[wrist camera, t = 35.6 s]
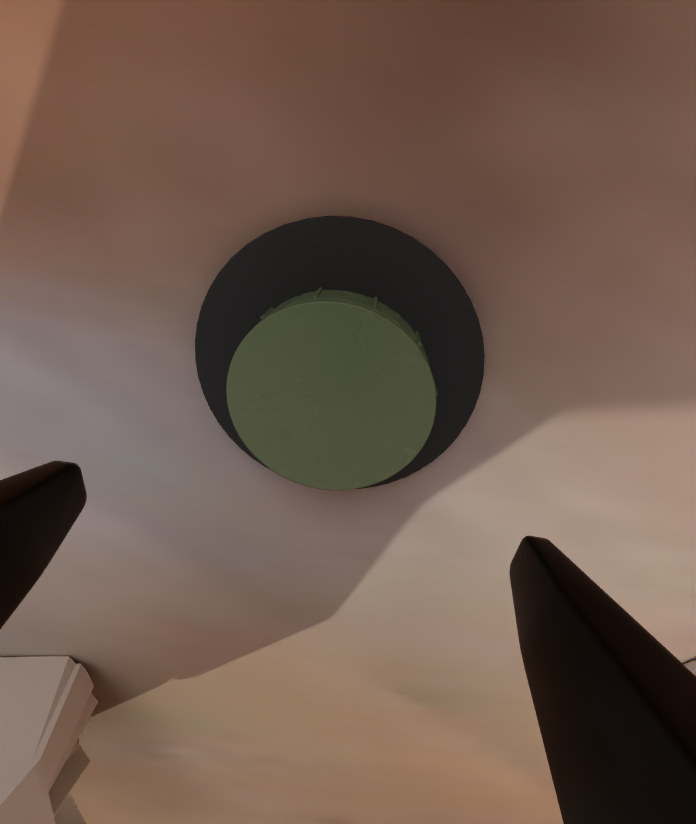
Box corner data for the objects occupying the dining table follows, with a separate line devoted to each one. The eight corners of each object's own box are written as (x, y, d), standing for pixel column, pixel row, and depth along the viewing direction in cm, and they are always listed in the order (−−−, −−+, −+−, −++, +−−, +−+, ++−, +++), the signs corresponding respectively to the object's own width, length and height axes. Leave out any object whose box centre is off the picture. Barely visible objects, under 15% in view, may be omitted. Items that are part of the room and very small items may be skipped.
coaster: (186, 199, 12) (179, 199, 12) (519, 234, 12) (524, 235, 11) (210, 466, 17) (206, 473, 16) (447, 496, 17) (449, 504, 16)
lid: (243, 272, 13) (225, 283, 11) (453, 308, 13) (462, 322, 11) (240, 447, 16) (225, 473, 14) (408, 476, 16) (410, 504, 14)
